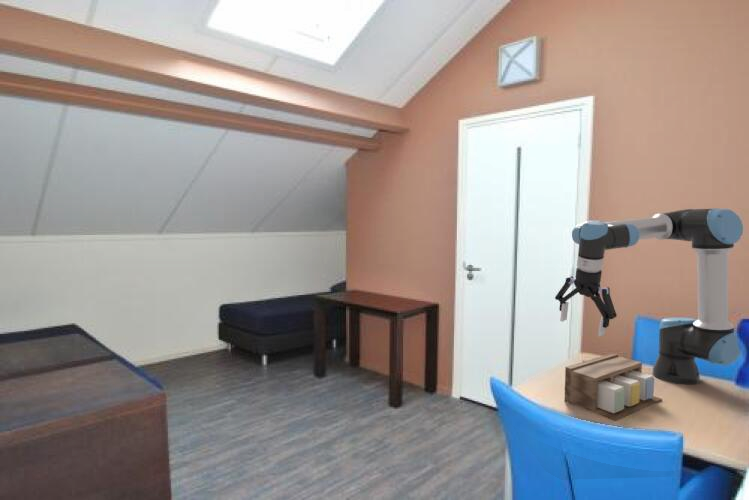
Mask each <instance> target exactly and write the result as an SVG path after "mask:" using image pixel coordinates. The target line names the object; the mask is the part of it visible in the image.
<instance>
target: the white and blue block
mask: <svg viewBox="0 0 749 500" xmlns="http://www.w3.org/2000/svg"><path fill="white" fill-rule="evenodd" d="M628 378H630V379H634V380H637V381H639V383H640V397H639V399H641V400H647V399H649V398H651V397H653V396H655V393H654V392H655V391H654V388H655V377H654V375H653V374H652V375H651V374H650V373H649V374H647V373H644V372H638V371H635V370H630V371H628Z"/></svg>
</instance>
